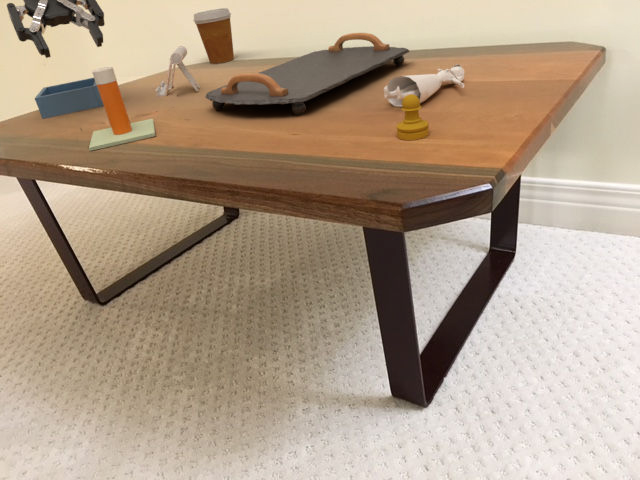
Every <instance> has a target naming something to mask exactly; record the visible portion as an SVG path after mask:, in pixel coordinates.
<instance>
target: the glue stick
mask: <svg viewBox="0 0 640 480" xmlns="http://www.w3.org/2000/svg"><path fill="white" fill-rule="evenodd" d="M91 74H92V76H93V78H94V79H95V82H96V84H97V87H98V90H99V93H100V96H101V99H102V102H103V105H104V106H103V107H104V110H105V113H106V116H107V119H108V122H109V125H110V128H112V131H113V134H114V135H121V134H126V133H128V132H130V131H132V127H131V124H130V123H131V121H130V118H129V115H128V112H127V108H126V106H125V101H124V100H123V95H122V93H121V89H120V87H119V84H118V81H117V80H118V79H117V77H116V73H115V70H114V67H113V66H103V67H99V68H96V69H93V70H91Z"/></svg>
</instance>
